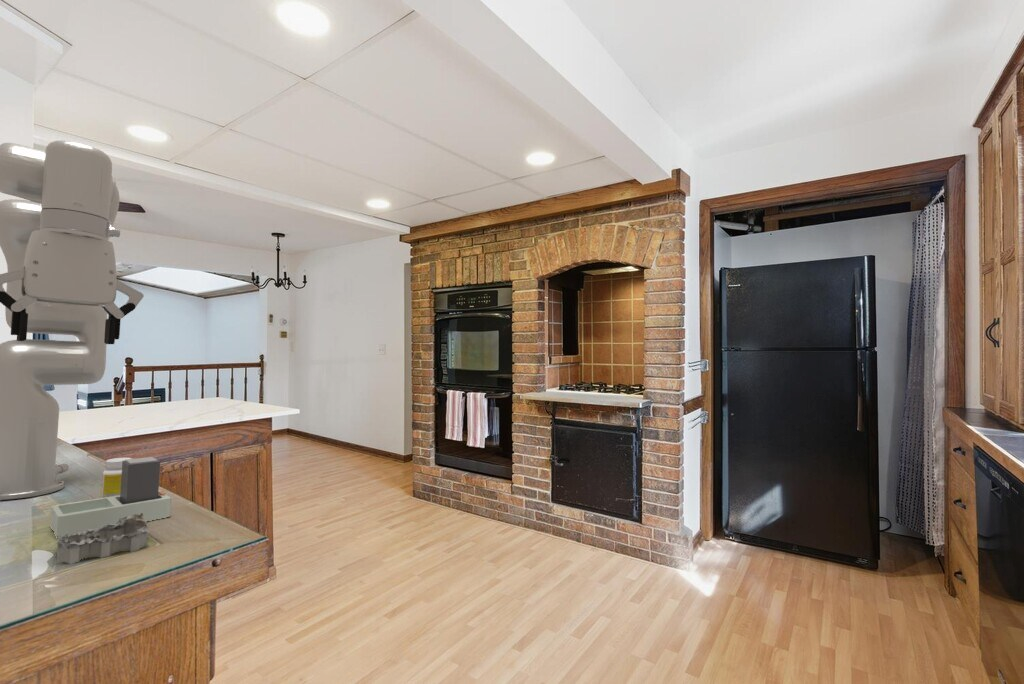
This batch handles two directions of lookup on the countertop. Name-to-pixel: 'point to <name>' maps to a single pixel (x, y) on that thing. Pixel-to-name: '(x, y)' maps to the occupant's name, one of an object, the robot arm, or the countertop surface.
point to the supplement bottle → (112, 477)
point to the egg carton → (104, 540)
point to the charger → (139, 480)
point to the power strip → (104, 513)
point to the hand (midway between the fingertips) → (67, 342)
